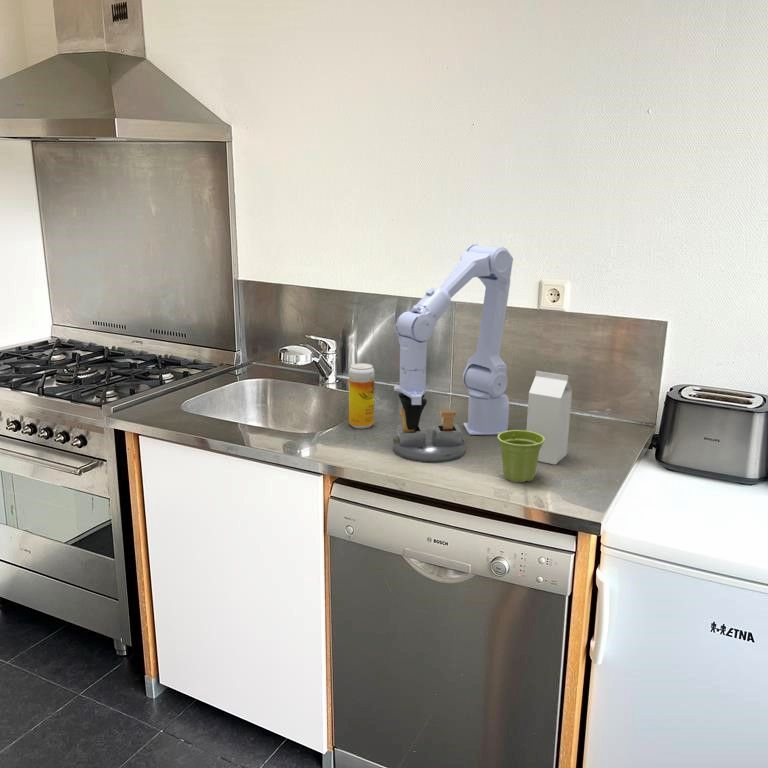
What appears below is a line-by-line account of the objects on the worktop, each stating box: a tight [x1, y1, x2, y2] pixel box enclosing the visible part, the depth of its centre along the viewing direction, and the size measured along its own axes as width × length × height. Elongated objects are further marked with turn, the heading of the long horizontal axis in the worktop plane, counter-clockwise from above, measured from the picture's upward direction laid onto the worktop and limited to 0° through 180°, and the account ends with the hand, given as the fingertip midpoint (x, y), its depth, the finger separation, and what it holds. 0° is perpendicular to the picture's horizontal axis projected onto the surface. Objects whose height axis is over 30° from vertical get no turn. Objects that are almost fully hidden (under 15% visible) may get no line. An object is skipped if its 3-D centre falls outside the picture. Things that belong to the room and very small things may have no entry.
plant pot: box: [497, 429, 545, 483], centre depth 155 cm, size 9×9×9 cm
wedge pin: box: [399, 408, 414, 432], centre depth 169 cm, size 3×2×7 cm
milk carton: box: [525, 370, 573, 466], centre depth 165 cm, size 7×7×19 cm
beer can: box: [348, 362, 375, 430], centre depth 185 cm, size 6×6×15 cm
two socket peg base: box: [392, 409, 466, 464], centre depth 170 cm, size 16×16×9 cm
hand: (411, 427), depth 169 cm, fingers closed on wedge pin, 2 cm apart
